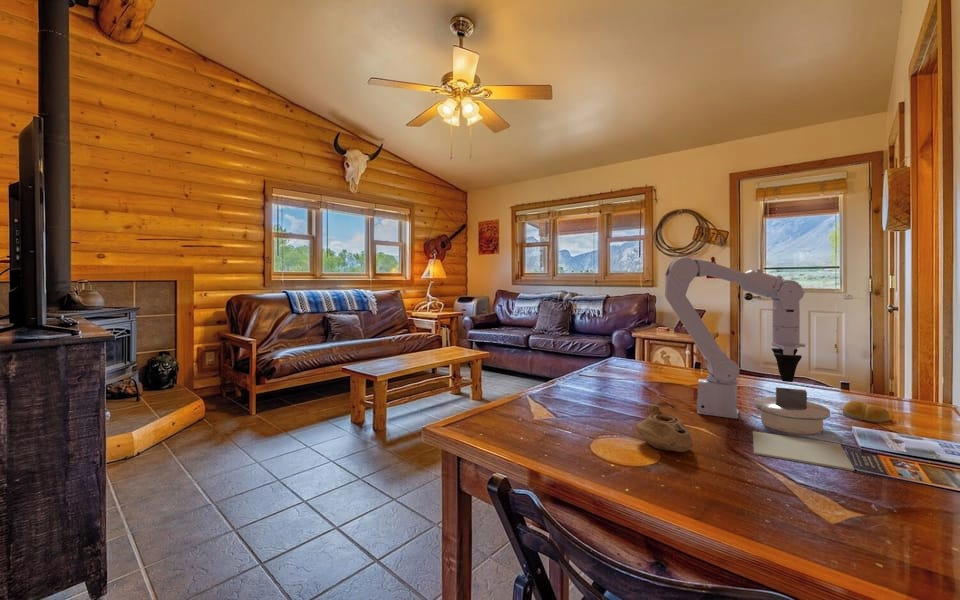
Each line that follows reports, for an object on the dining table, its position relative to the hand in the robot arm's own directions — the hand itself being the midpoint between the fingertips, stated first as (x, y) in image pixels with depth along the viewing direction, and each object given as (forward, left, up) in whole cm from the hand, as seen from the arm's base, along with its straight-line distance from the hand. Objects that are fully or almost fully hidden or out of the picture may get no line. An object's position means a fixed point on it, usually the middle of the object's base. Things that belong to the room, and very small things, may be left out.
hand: (785, 378), depth 111 cm
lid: (+1, -7, -6) cm, 9 cm away
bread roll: (+18, +10, -11) cm, 23 cm away
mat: (+1, -24, -10) cm, 26 cm away
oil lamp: (-23, -36, -11) cm, 44 cm away
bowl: (+1, -7, -10) cm, 12 cm away
